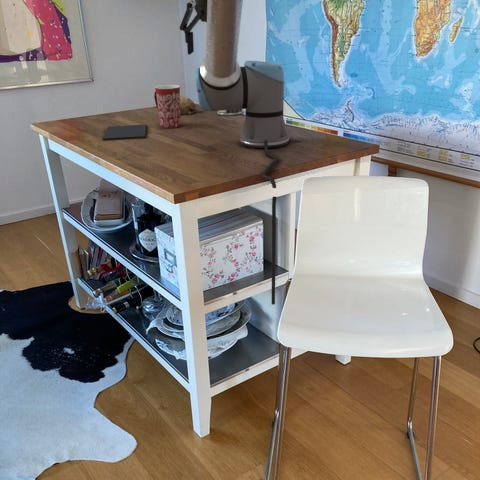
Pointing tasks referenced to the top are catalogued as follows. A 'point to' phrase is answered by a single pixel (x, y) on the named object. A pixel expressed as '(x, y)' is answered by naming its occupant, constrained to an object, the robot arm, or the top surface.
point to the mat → (125, 132)
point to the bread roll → (186, 106)
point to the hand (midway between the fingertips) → (207, 58)
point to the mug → (168, 105)
